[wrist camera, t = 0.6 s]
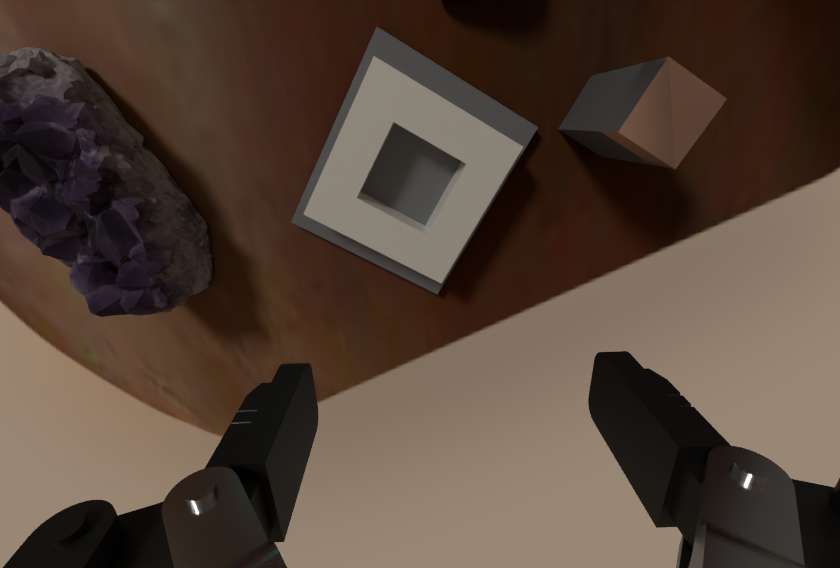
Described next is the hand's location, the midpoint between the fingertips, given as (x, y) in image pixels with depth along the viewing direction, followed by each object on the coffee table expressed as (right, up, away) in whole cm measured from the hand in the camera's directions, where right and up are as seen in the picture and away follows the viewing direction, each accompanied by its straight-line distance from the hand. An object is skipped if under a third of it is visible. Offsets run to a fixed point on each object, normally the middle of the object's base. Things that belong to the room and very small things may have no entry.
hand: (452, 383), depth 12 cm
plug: (+13, +16, +21) cm, 30 cm away
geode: (-25, +11, +22) cm, 35 cm away
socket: (-2, +12, +22) cm, 25 cm away
